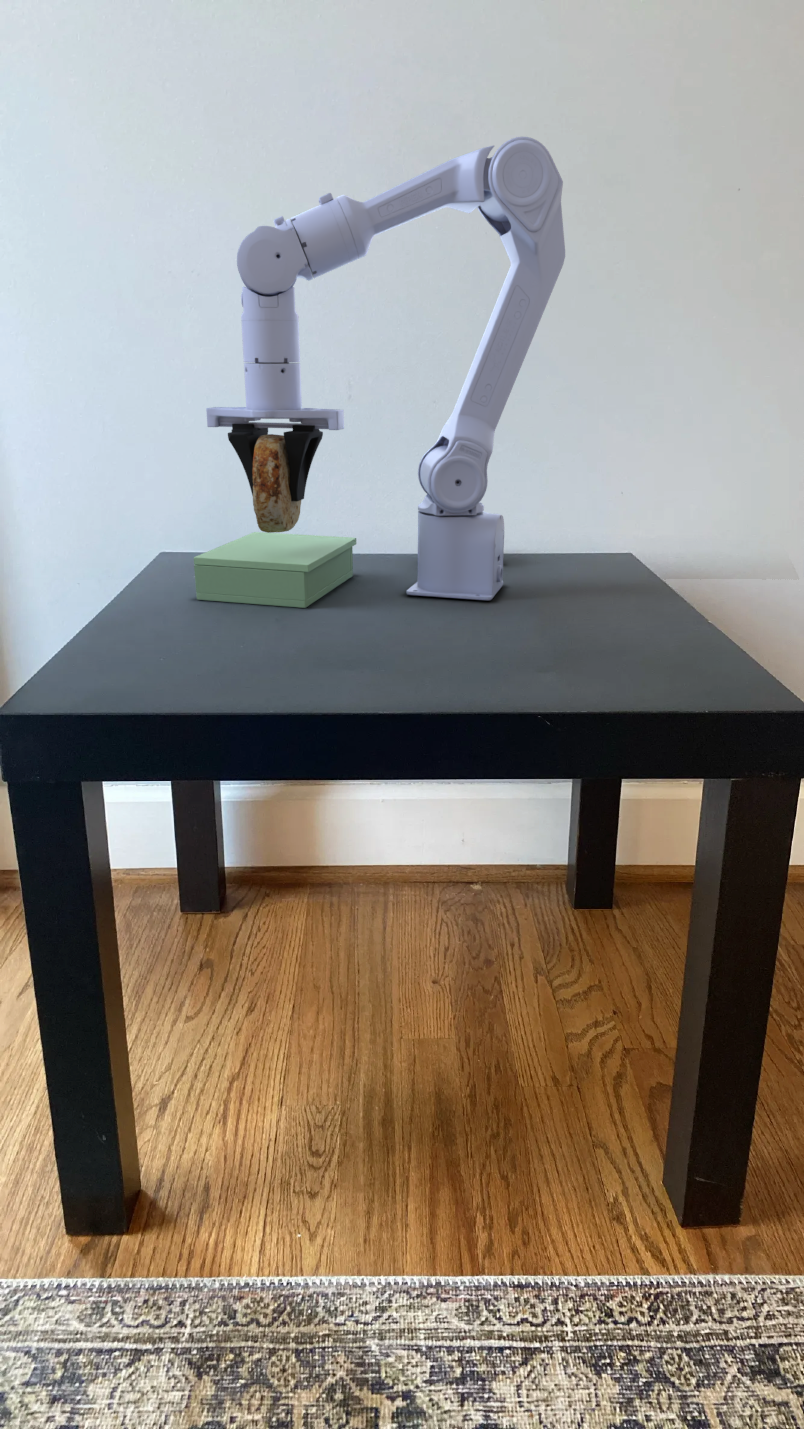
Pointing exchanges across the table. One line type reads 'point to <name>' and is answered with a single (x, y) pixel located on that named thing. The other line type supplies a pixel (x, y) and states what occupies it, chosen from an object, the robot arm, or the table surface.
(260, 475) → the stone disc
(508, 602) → the table surface
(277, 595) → the box
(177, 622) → the table surface
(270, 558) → the lunchbox lid
